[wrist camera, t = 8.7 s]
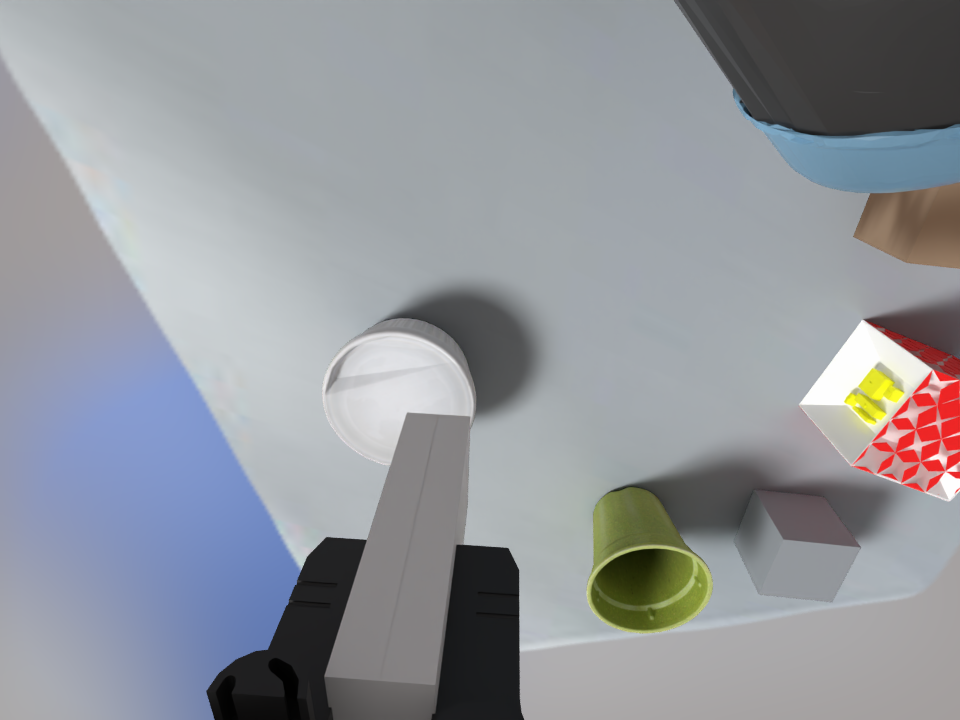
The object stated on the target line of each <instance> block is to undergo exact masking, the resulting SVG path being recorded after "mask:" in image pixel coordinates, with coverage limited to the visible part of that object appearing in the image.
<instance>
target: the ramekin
mask: <svg viewBox="0 0 960 720" xmlns="http://www.w3.org/2000/svg"><path fill="white" fill-rule="evenodd" d="M322 399H323V405H324V409H325V413H326V416H327V418H328V420H329V422H330V424H331V426H332V428H333V429H334V431H335V432H336V433H337V435H338V436H339V437H340V438H341V440H342V441H343V442H345V443H346V444H347V445H348V446H349V447H350V448H352V449H353V450H354V451H355V452H357V453H358V454H360V455H362V456H363V457H366V458H367V459H370V460H372V461H375V462H377V463H380V464H384V465H388V466H390V465H391V462H392V459H393V455H394V452H395V449H396V446H397V443H398V439H399V436H400V433H401V430H402V427H403V423H404V420H405V417H406V414H407V413H424V414H440V415H457V416H470V429H471V427H472V424H473V421H474V417H475V412H476V391H475V386H474V382H473V379H472V376H471V374H470V370H469V366H468V364H467V360H466V357H465V356H464V354H463V351H462V350H461V349H460V347H459V345H458V344H457V343H456V342H455V341H454V340H453V338H451V337H450V336H449V335H448V334H447V333H445V332H444V331H442V330H441V329H440V328H437V327H436V326H434V325H432V324H429V323H427V322H425V321H420V320H418V319H410V318H406V319H404V318H398V319H391V320H387V321H383V322H381V323H378V324H375V325H374V326H372V327H371V328H368V329H367V330H366V331H364V332H363V333H362V334H360V335H358V336H356V337H354V338H353V339H351V340H350V341H349V342H347V343H346V344H345V345H344V346H343V347H342V348H341V349H340V350H339V351H338V352H337V353H336V355H335V356H334V358H333V359H332V361H331V362H330V364H329V366H328V368H327V371H326V373H325V376H324V380H323V386H322Z"/></svg>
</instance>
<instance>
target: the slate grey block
mask: <svg viewBox="0 0 960 720" xmlns="http://www.w3.org/2000/svg"><path fill="white" fill-rule="evenodd" d="M734 543H735V546H736V548H737V550H738V552H739V554H740V556H741V558H742V560H743V562H744V564H745V567H746V569H747V571H748V573H749V575H750V577H751V579H752V581H753V583H754V585H755V588H756V590H757V592H758V594H759V595H767V596H776V597H786V598H796V599H805V600H815V601H824V602H833V600H834V598H835V596H836V594H837V592H838V590H839V589H840V587H841V585H842V583H843V581H844V579H845V577H846V575H847V573H848V572H849V570H850V568H851V566H852V564H853V562H854V560H855V558H856V556H857V555H858V553H859V551H860V549H861V547H860V545H859V544H858V543H857V541H856V540H855V539H854V537H853V536H852V535H851V533H850V532H849V530H848V529H847V528H846V526H845V525H844V524H843V522H842V521H841V520H840V518H839V517H838V516H837V514H836V513H835V511H834V510H833V509H832V507H831V506H830V505H829V503H828V502H827V501H826V499H825V498H824V497H822V496H813V495H803V494H794V493H784V492H775V491H765V490H755V489H754V491H753V493H752V496H751V498H750V501H749V504H748V506H747V509H746V511H745V514H744V516H743V519H742V521H741V524H740V526H739V529H738V532H737V534H736V537H735V539H734Z"/></svg>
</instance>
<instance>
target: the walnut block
mask: <svg viewBox="0 0 960 720" xmlns="http://www.w3.org/2000/svg"><path fill="white" fill-rule="evenodd" d="M853 237H855V238H857V239H859V240H861V241H863V242H865V243H867V244H869V245H871V246H873V247H875V248H877V249H879V250H881V251H883V252H885V253H887V254H889V255H891V256H894V257H896V258H898V259H900V260H902V261H904V262H906V263H913V264H922V265H931V266H940V267H949V268H958V269H960V182H959V183H954V184H950V185H945V186H939V187H934V188H928V189H921V190H913V191H905V192H895V193H870V196H869V198H868V201H867V203H866V206H865V208H864V211H863V213H862V216H861V218H860V221H859V223H858V226H857V228H856V231H855V233H854V236H853Z"/></svg>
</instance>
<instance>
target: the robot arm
mask: <svg viewBox="0 0 960 720" xmlns="http://www.w3.org/2000/svg"><path fill="white" fill-rule="evenodd" d="M674 1H675V3H676V4H677V6H678V7H679V9H680V10H681V11H682V13H683V14H684V16H685V17H686V19H687V20H688V22H689V23H690V25H691V26H692V28H693V29H694V31H695V32H696V34H697V35H698V37H699V38H700V39H701V41H702V42H703V44H704V45H705V47H706V48H707V50H708V51H709V53H710V54H711V56H712V57H713V59H714V60H715V62H716V63H717V64H718V66H719V67H720V69H721V70H722V72H723V73H724V75H725V76H726V78H727V79H728V81H729V82H730V84H731V85H732V87H733V96H734V99H735V102H736V104H737V107H738V108H739V110H740V111H741V113H742V114H743V116H744V117H745V118H746V119H747V120H750V121H751V122H752V123H753V125H754V126H755V127H756V128H758V129H760V130H762V131H763V132H764V133H765V135H766V136H767V137H768V139H769V140H770V141H771V143H772V144H773V145H774V147H775V148H776V149H777V151H778V152H779V153H780V154H781V156H782V157H783V158H784V160H785V161H786V162H787V163H788V164H789V166H790V167H791V168H793V169H794V170H795V171H796V172H798V173H800V174H801V175H803V176H804V177H806V178H807V179H809V180H810V181H812V182H815V183H817V184H819V185H822V186H825V187H828V188H832V189H837V190H842V191H848V192H856V193H895V192H905V191H913V190H921V189H928V188H934V187H939V186H945V185H950V184H954V183H959V182H960V0H674ZM469 446H470V416H457V415H440V414H424V413H407V414H406V417H405V420H404V423H403V427H402V430H401V433H400V436H399V439H398V443H397V446H396V449H395V452H394V455H393V459H392V462H391V465H390V468H389V471H388V475H387V478H386V481H385V484H384V487H383V491H382V494H381V497H380V500H379V503H378V506H377V510H376V513H375V516H374V519H373V522H372V526H371V529H370V532H369V535H368V538H367V540H360V539H346V538H331V537H326V538H325V539H324V540H323V541H322V542H321V543H320V544H319V545H318V546H317V547H316V548H315V549H314V550H313V551H312V552H311V553H310V554H309V556H308V557H307V559H306V561H305V563H304V566H303V568H302V570H301V573H300V575H299V577H298V580H297V585H295V587H294V589H293V592H292V594H291V597H290V599H289V604H288V605H287V606H286V608H285V611H284V613H283V615H282V618H281V620H280V622H279V625H278V627H277V629H276V632H275V634H274V636H273V639H272V641H271V644H270V646H269V648H268V650H262V651H255V652H253V653H250V654H248V655H246V656H243V657H241V658H238V659H237V660H235V661H234V662H233V663H231V664H230V665H229V666H227V667H226V668H225V669H224V670H223V671H221V672H220V673H219V674H218V675H217V677H216V678H215V680H214V681H213V683H212V684H211V685H210V687H209V688H208V690H207V695H208V699H209V702H210V706H211V709H212V712H213V715H214V719H215V720H524V718H523V715H522V713H521V705H520V689H519V687H520V686H519V685H520V680H519V679H520V675H519V673H520V672H519V671H520V670H519V569H518V567H517V565H516V563H515V561H514V559H513V557H512V555H511V553H510V551H509V549H508V548H501V547H486V546H472V545H463V543H464V534H465V525H466V516H467V507H468V477H469Z"/></svg>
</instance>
